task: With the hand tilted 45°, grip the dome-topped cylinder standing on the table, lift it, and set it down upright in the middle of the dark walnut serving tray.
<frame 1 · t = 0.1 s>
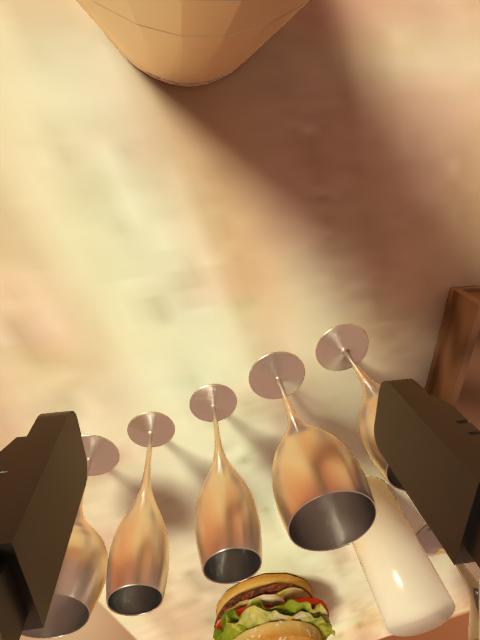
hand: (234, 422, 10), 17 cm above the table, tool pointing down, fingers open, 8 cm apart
wine glass: (440, 534, 45), on the table
dome-topped cylinder: (362, 496, 40), on the table
goblet set: (210, 402, 32), on the table
food: (264, 595, 46), on the table
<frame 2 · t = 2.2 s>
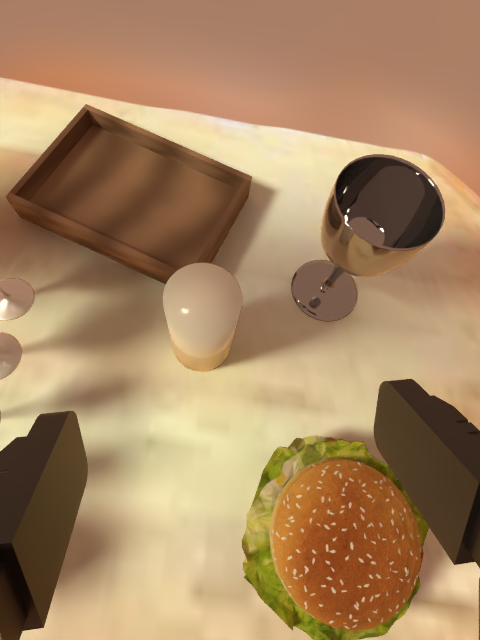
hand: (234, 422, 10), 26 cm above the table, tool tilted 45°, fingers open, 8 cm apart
serving tray: (139, 205, 42), on the table
wine glass: (323, 290, 41), on the table
dome-topped cylinder: (201, 343, 37), on the table
food: (316, 522, 33), on the table
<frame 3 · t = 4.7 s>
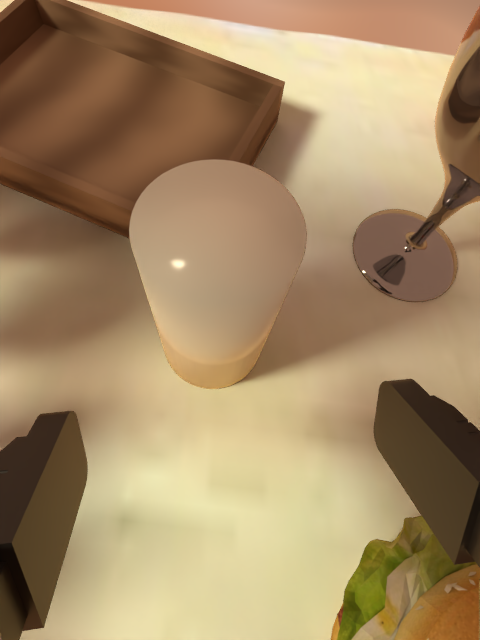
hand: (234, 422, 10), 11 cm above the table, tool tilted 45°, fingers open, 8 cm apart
serving tray: (112, 135, 27), on the table
wine glass: (403, 254, 26), on the table
dome-topped cylinder: (212, 340, 22), on the table
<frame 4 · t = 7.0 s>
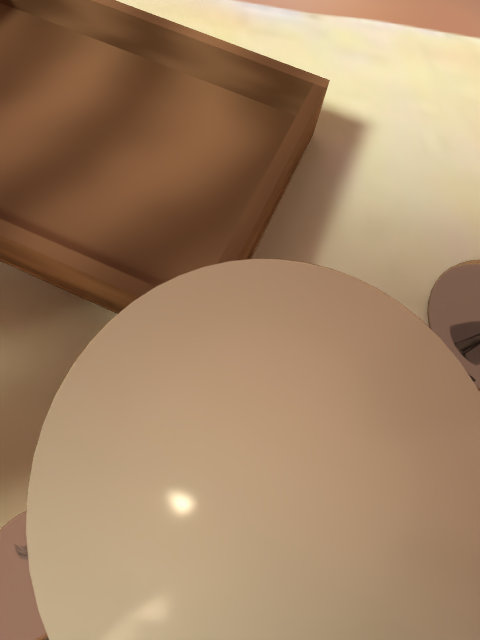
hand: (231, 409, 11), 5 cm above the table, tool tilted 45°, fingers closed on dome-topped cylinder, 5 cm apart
serving tray: (86, 154, 20), on the table
dome-topped cylinder: (229, 476, 15), on the table, touching gripper
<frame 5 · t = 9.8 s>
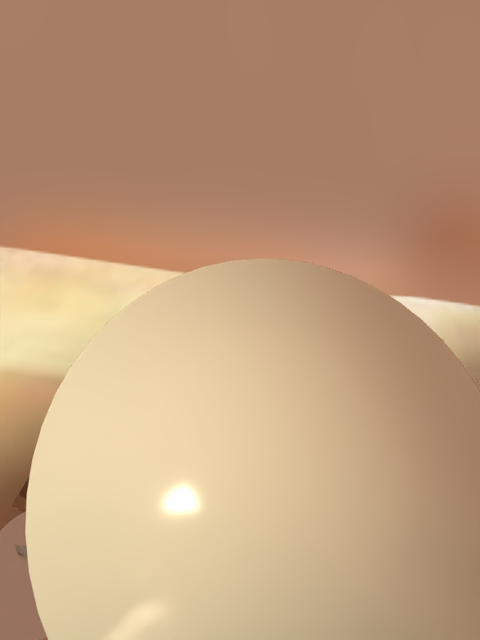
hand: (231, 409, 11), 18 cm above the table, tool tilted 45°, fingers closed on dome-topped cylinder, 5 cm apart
dome-topped cylinder: (229, 476, 15), point 13 cm above the table, touching gripper
when the fingers open (7 cm above the table, at t = 12.5 s): dome-topped cylinder drops 1 cm, resting on serving tray.
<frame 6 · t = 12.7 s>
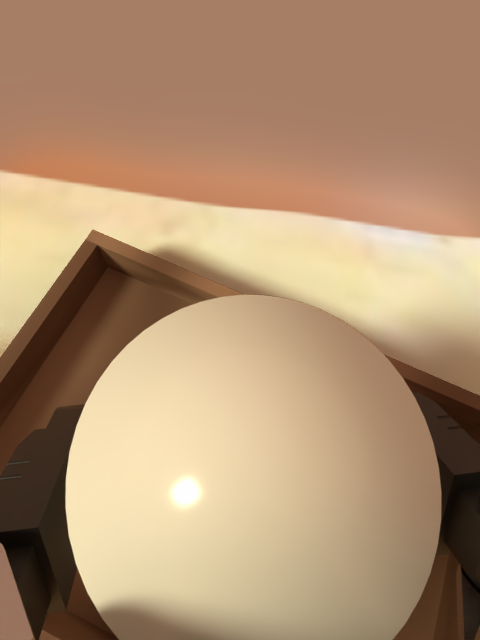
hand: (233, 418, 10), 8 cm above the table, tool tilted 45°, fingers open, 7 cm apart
serving tray: (226, 476, 17), on the table
dome-topped cylinder: (226, 478, 16), point 1 cm above the table, touching serving tray
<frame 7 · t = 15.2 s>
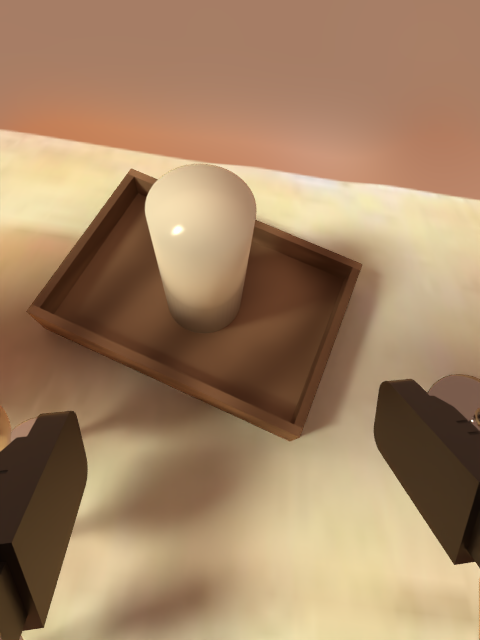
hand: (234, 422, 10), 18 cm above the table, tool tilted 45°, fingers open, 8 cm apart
serving tray: (205, 304, 31), on the table
wine glass: (468, 421, 29), on the table
dome-topped cylinder: (204, 299, 30), point 1 cm above the table, touching serving tray
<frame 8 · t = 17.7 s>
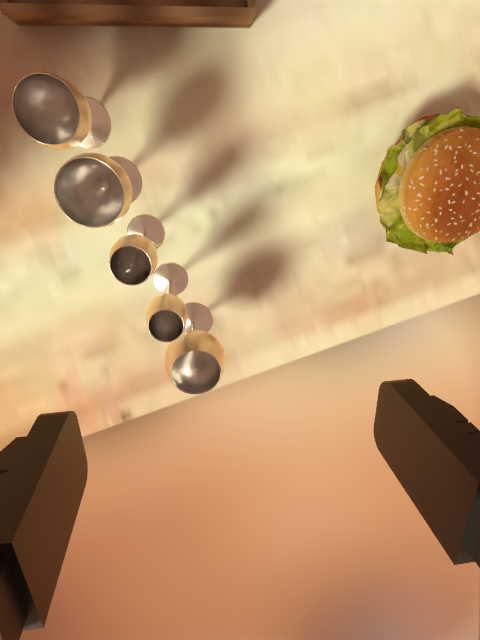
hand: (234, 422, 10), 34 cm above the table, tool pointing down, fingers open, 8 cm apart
goblet set: (147, 235, 41), on the table
food: (417, 183, 43), on the table
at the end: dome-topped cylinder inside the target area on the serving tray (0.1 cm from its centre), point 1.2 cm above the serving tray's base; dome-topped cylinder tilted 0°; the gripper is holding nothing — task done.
